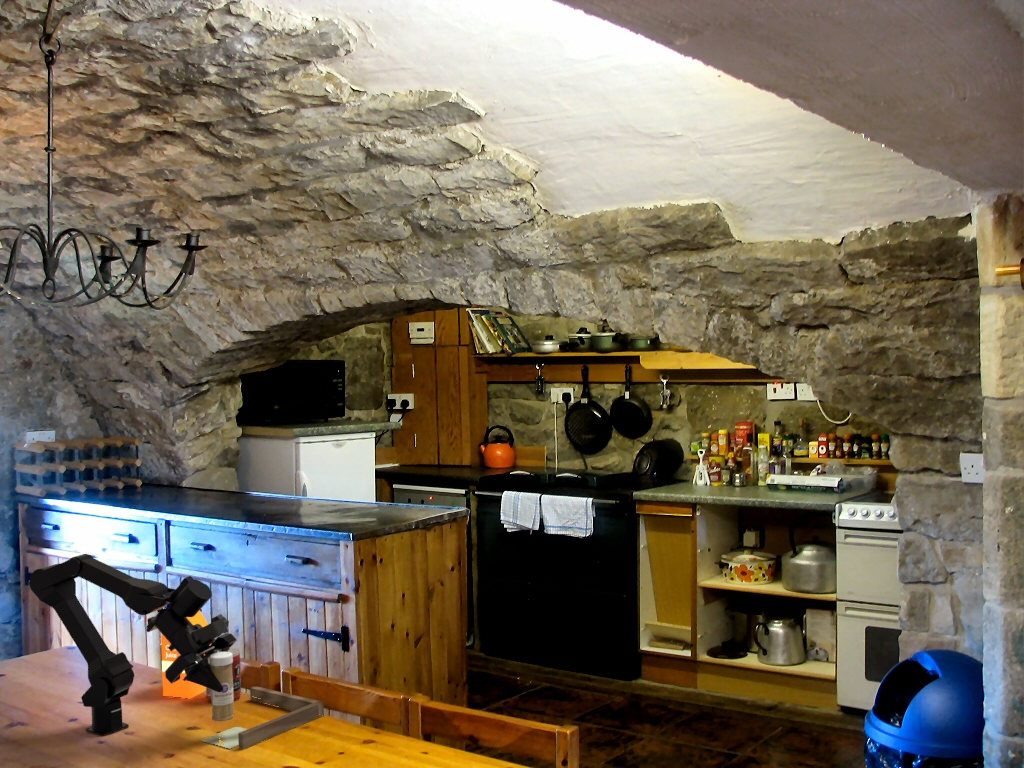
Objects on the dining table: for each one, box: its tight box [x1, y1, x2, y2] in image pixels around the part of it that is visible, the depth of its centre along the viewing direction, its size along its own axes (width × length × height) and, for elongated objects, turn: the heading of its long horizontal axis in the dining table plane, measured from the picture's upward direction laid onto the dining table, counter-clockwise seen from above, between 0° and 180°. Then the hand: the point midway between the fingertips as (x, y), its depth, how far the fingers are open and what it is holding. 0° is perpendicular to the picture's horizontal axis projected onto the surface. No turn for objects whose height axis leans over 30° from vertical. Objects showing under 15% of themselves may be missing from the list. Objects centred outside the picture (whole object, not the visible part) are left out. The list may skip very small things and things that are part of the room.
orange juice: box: [160, 609, 212, 700], centre depth 229 cm, size 8×9×20 cm
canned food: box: [205, 647, 242, 704], centre depth 223 cm, size 8×8×11 cm
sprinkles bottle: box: [210, 652, 235, 722], centre depth 198 cm, size 5×5×13 cm
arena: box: [200, 686, 325, 750], centre depth 206 cm, size 22×24×3 cm
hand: (228, 687), depth 198 cm, fingers closed on sprinkles bottle, 4 cm apart
